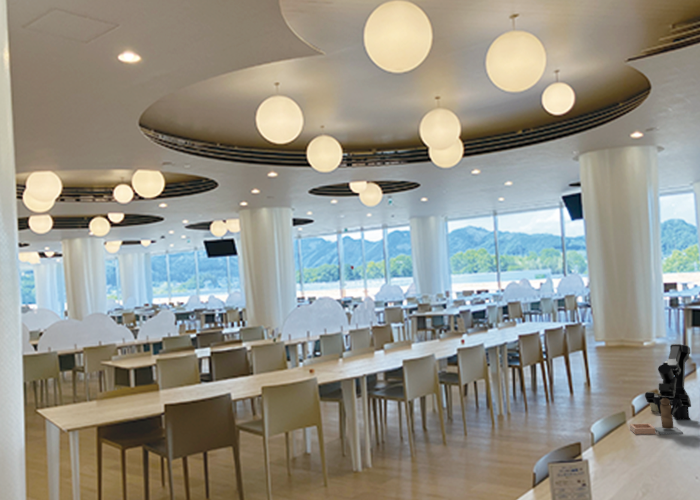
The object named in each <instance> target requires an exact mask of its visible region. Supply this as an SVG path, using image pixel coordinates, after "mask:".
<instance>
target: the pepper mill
mask: <svg viewBox="0 0 700 500" xmlns="http://www.w3.org/2000/svg"><path fill="white" fill-rule="evenodd" d="M671 409H672V406H671V405H670V401H669V399H667V398H663V399H662V400H661V404H660V410H661V414H660V419H661V427H662V428H665V429H672V428H674V427H675V426H674V417H673V415H671Z"/></svg>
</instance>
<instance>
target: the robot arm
mask: <svg viewBox="0 0 700 500" xmlns="http://www.w3.org/2000/svg"><path fill="white" fill-rule="evenodd" d="M669 347H670V352H669V355H668V358H667V360H665V361H664V362H662V364H661V365H659V366H658V367H657V371H658V374H659V375H660V378H661V380H662V383H658V391H659V393H660V394H661V396H659V395H656V394H655V393H656V392H653V391H647V392H645V394H644V397H645V399H646V402H647V403H649V404H650V403H655V405H657V406H658V410H659V412H658V413H659V414H660V415H661V410H660V404H661V402H660V401H661V400H662V399H663V398H667V399H669V401H670V405H671V406H672V409H671V415H672V417H673V419H675V420H678V419H681V420H691V417H690V410H689V408H691V407H692V404H691V398H690V395H688V394H689V393H687V391H686V389H685V376H686V373H685V372H686V362H687V361H688V360H689V358H690V355H691V348H690V346H688V345H687V344H681V343H672V344H670V346H669Z"/></svg>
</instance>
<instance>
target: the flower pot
mask: <svg viewBox="0 0 700 500" xmlns="http://www.w3.org/2000/svg"><path fill="white" fill-rule="evenodd" d="M654 393H655V394H656V395H659V396H661V394H660V392H654ZM660 402H661V401H660ZM649 405H650V411H652V412H656V413H659V410H658V406H657V405H655V403H649Z"/></svg>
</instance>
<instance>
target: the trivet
mask: <svg viewBox="0 0 700 500" xmlns="http://www.w3.org/2000/svg"><path fill="white" fill-rule="evenodd" d="M653 427H654V428H655V432H657V433H658V434H659V435H684V432H683V431H682V430H681V429H679V428H678V427H677V426H673V427H674V428H672V429H665V428H662V426H653Z"/></svg>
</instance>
